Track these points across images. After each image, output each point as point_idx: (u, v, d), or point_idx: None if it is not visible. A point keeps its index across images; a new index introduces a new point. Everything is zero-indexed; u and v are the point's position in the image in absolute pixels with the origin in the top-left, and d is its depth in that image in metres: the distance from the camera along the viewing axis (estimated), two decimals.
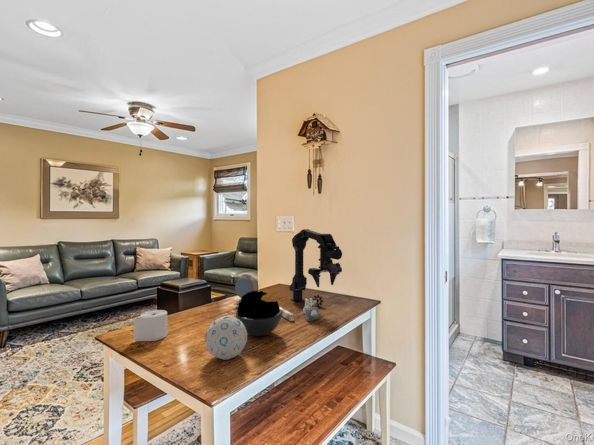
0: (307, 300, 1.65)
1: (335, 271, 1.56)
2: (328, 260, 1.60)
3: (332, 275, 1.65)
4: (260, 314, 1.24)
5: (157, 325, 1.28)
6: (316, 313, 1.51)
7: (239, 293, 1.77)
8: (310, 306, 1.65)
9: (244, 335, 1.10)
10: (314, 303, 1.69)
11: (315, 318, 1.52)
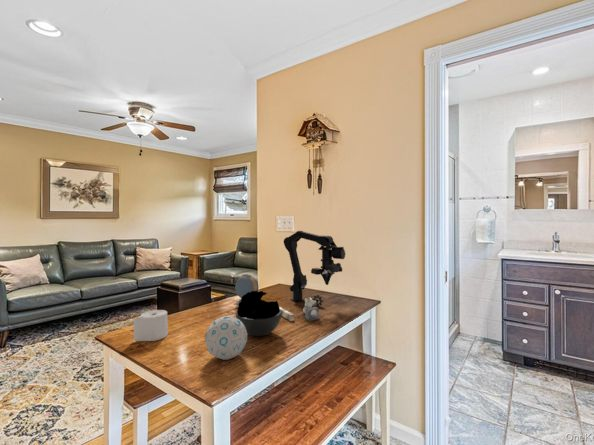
0: (307, 300, 1.65)
1: (336, 270, 1.68)
2: (329, 260, 1.72)
3: None
4: (260, 314, 1.24)
5: (157, 325, 1.28)
6: (316, 313, 1.51)
7: (239, 293, 1.77)
8: (310, 306, 1.65)
9: (244, 335, 1.10)
10: (314, 303, 1.69)
11: (315, 318, 1.52)
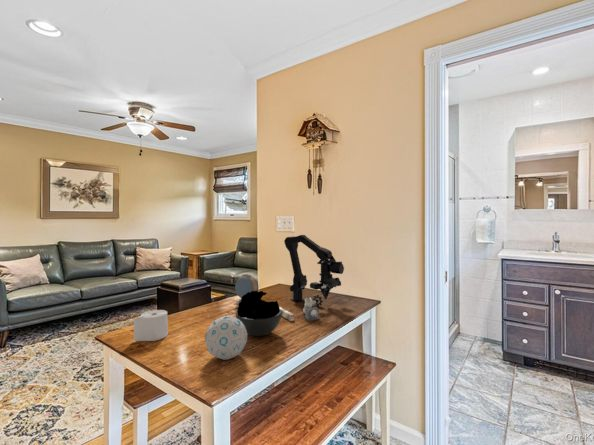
0: (307, 300, 1.65)
1: (335, 285, 1.68)
2: (328, 275, 1.72)
3: None
4: (260, 314, 1.24)
5: (157, 325, 1.28)
6: (316, 313, 1.51)
7: (239, 293, 1.77)
8: (310, 306, 1.65)
9: (244, 335, 1.10)
10: (314, 303, 1.68)
11: (315, 318, 1.52)
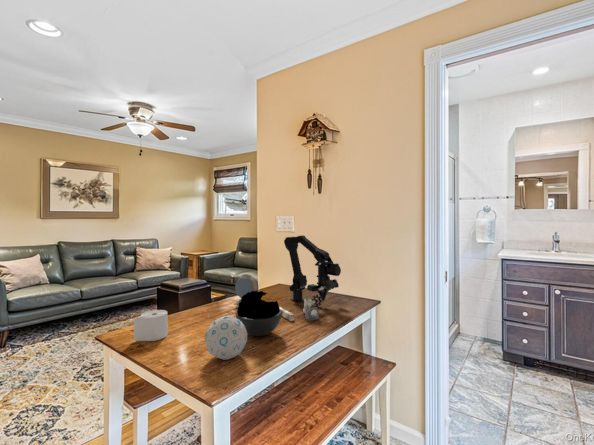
0: (306, 300, 1.65)
1: (332, 287, 1.67)
2: (325, 277, 1.71)
3: None
4: (260, 314, 1.24)
5: (157, 325, 1.28)
6: (316, 313, 1.51)
7: (239, 293, 1.77)
8: (309, 306, 1.64)
9: (244, 335, 1.10)
10: (313, 303, 1.68)
11: (315, 318, 1.52)
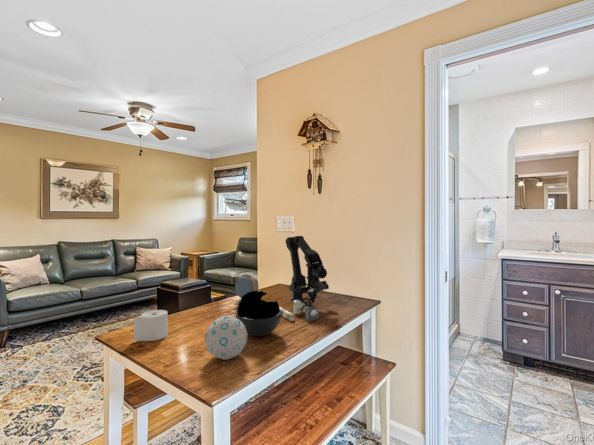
0: (295, 302, 1.60)
1: (322, 289, 1.64)
2: (315, 278, 1.67)
3: None
4: (260, 314, 1.24)
5: (158, 325, 1.28)
6: (316, 313, 1.51)
7: (239, 293, 1.77)
8: (298, 309, 1.60)
9: (244, 335, 1.10)
10: (303, 305, 1.64)
11: (315, 318, 1.52)
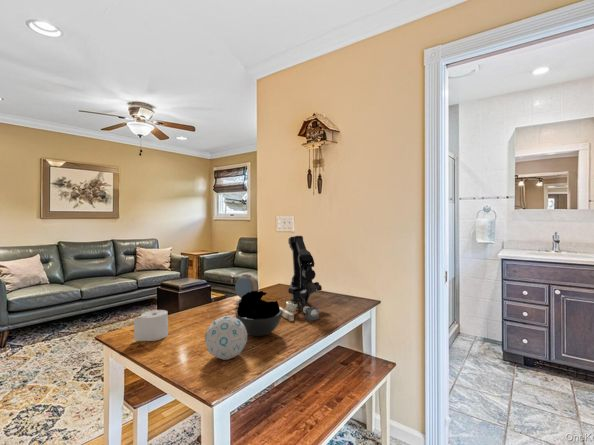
0: (288, 304, 1.57)
1: (314, 290, 1.61)
2: (308, 279, 1.65)
3: (306, 294, 1.68)
4: (260, 314, 1.24)
5: (158, 325, 1.28)
6: (316, 313, 1.51)
7: (239, 293, 1.77)
8: (291, 310, 1.57)
9: (244, 335, 1.10)
10: (295, 307, 1.61)
11: (315, 318, 1.52)
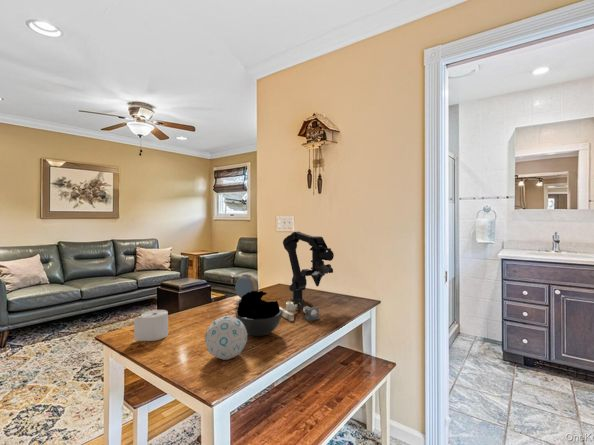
0: (288, 305, 1.57)
1: (326, 272, 1.65)
2: (320, 261, 1.69)
3: None
4: (260, 314, 1.24)
5: (158, 325, 1.28)
6: (316, 313, 1.51)
7: (239, 293, 1.77)
8: (291, 311, 1.57)
9: (244, 335, 1.10)
10: (295, 307, 1.61)
11: (315, 318, 1.52)
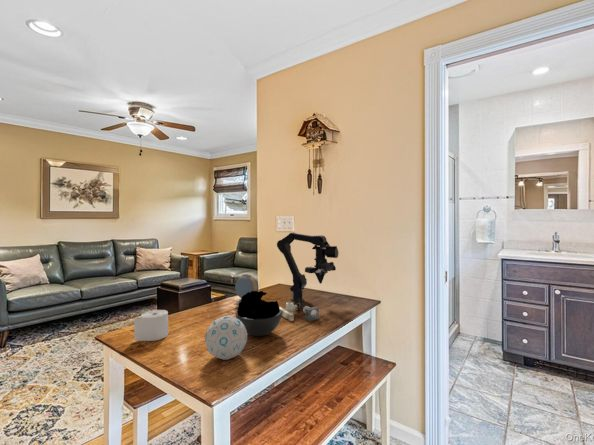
0: (288, 305, 1.57)
1: (329, 269, 1.72)
2: (323, 259, 1.76)
3: None
4: (260, 314, 1.24)
5: (158, 325, 1.28)
6: (316, 313, 1.51)
7: (239, 293, 1.77)
8: (291, 311, 1.57)
9: (244, 335, 1.10)
10: (295, 308, 1.61)
11: (315, 318, 1.52)
